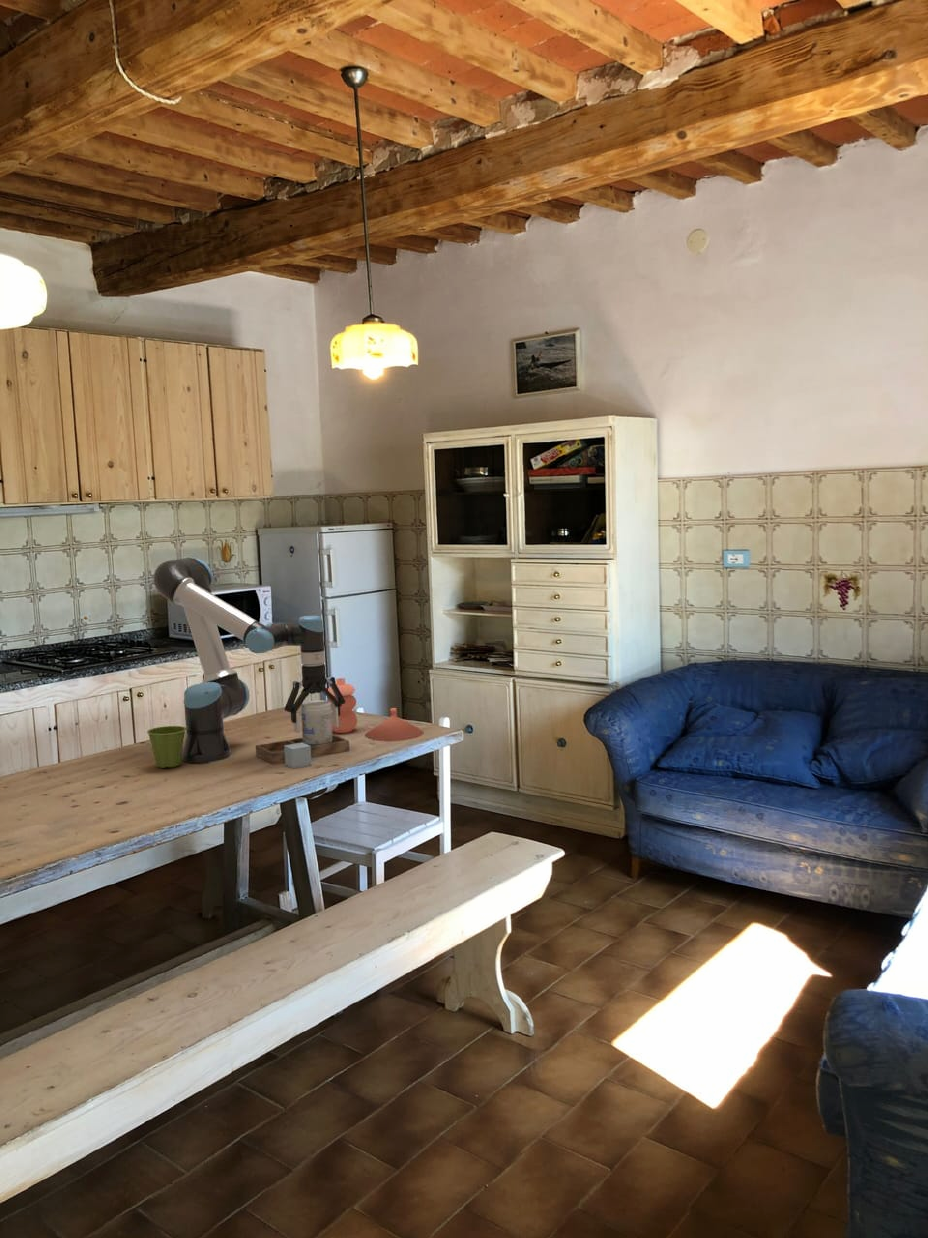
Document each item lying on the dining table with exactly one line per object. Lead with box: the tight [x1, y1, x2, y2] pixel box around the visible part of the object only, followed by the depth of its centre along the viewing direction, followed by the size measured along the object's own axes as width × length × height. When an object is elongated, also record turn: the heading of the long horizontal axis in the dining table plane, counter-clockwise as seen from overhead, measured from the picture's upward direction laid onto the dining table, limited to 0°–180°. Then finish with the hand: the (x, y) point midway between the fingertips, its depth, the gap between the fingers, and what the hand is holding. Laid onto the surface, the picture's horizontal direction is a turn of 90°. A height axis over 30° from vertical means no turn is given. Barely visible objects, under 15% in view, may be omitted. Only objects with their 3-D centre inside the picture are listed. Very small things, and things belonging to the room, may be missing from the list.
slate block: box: [284, 743, 313, 769], centre depth 306 cm, size 6×6×6 cm
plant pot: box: [146, 725, 186, 769], centre depth 310 cm, size 12×12×11 cm
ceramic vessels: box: [327, 677, 425, 742], centre depth 344 cm, size 35×21×19 cm, turn 71°
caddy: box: [255, 733, 350, 765], centre depth 320 cm, size 26×14×3 cm, turn 123°
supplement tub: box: [301, 700, 333, 746], centre depth 323 cm, size 10×10×15 cm
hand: (316, 729), depth 323 cm, fingers open, 13 cm apart
